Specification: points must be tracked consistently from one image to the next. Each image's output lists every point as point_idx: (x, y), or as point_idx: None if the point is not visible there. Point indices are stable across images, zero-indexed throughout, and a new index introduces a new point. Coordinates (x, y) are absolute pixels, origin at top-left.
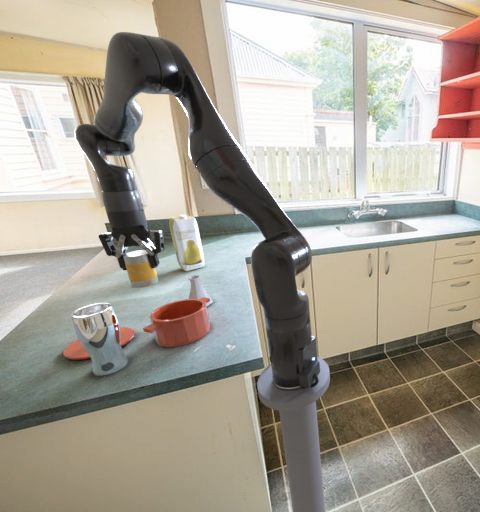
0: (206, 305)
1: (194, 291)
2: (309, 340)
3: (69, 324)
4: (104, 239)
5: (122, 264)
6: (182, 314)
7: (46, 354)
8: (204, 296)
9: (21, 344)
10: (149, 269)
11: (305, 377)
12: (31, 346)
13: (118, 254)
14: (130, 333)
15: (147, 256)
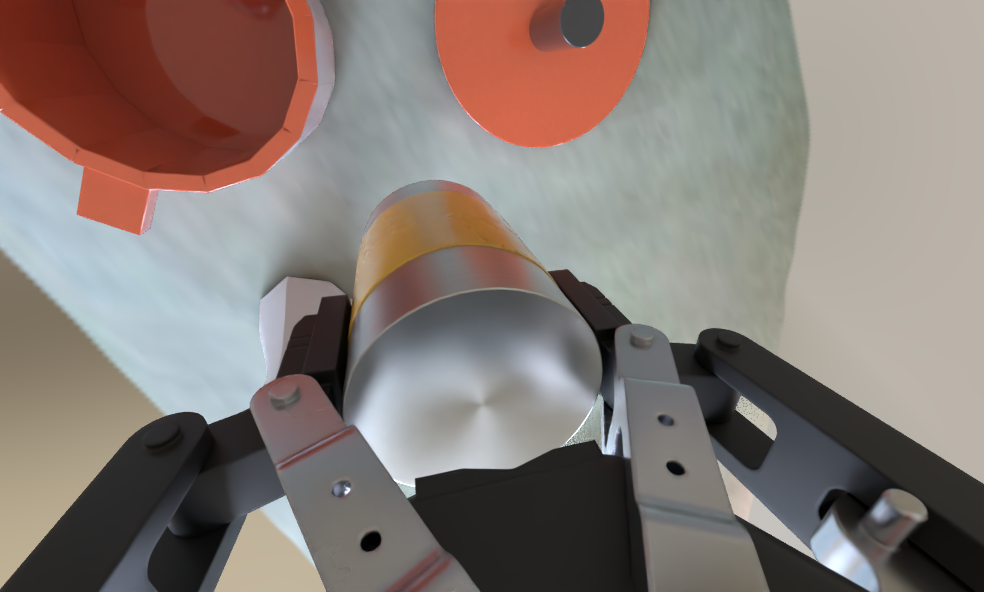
0: (264, 299)
1: None
2: None
3: (696, 229)
4: (941, 503)
5: (580, 292)
6: (256, 150)
7: (696, 11)
8: (264, 332)
9: (778, 118)
10: (359, 272)
11: None
12: (751, 95)
13: (642, 346)
14: (459, 73)
15: (348, 362)
